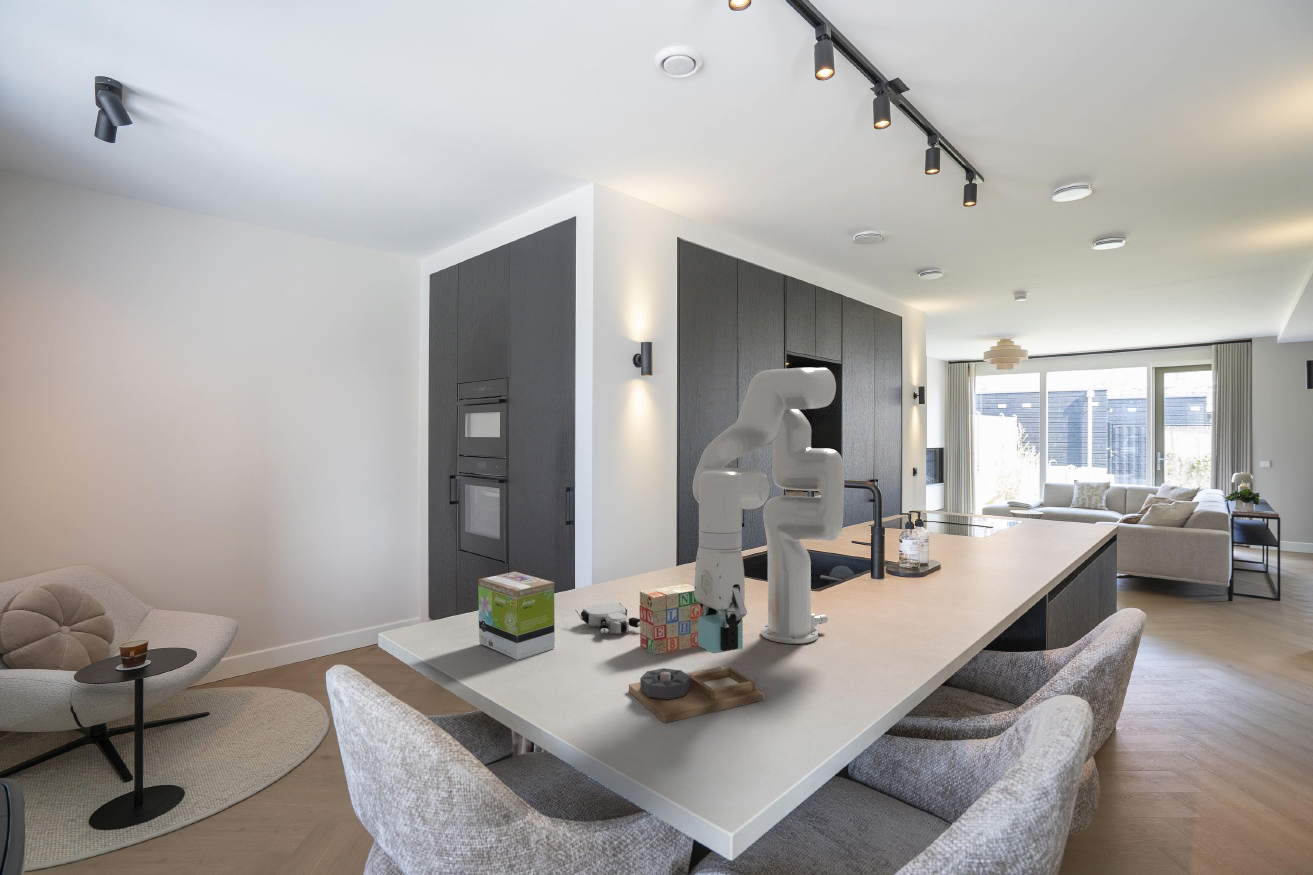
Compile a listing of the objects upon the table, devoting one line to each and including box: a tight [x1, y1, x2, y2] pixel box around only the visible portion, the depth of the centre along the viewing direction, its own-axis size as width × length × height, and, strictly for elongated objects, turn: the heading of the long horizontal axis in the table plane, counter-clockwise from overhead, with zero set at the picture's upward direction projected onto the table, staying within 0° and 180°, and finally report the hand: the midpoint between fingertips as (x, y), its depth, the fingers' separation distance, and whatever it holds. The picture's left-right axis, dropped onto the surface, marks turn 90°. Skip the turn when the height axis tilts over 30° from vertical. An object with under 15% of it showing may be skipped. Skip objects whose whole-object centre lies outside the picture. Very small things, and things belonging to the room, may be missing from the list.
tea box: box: [477, 571, 556, 661], centre depth 137 cm, size 15×10×15 cm, turn 47°
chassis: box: [628, 666, 764, 724], centre depth 111 cm, size 19×14×4 cm
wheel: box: [639, 667, 690, 699], centre depth 110 cm, size 8×8×2 cm
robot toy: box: [574, 601, 640, 635], centre depth 150 cm, size 12×4×15 cm
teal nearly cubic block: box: [698, 613, 744, 654], centre depth 111 cm, size 6×5×5 cm
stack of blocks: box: [638, 583, 732, 655], centre depth 139 cm, size 21×6×12 cm, turn 119°
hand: (720, 643), depth 111 cm, fingers closed on teal nearly cubic block, 5 cm apart
